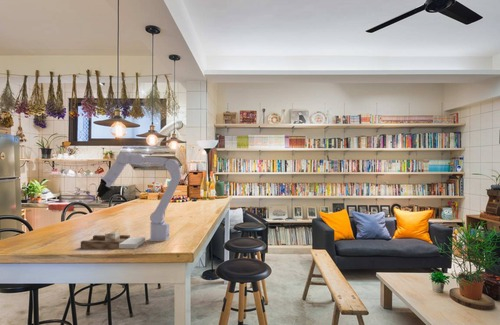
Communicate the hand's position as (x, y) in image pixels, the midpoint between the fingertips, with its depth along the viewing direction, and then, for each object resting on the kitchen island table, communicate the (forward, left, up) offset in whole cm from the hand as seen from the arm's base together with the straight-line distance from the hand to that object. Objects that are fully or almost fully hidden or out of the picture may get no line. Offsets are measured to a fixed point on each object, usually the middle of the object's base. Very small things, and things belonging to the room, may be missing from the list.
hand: (98, 194), depth 148 cm
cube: (-11, +7, -22) cm, 26 cm away
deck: (-12, +7, -24) cm, 28 cm away
